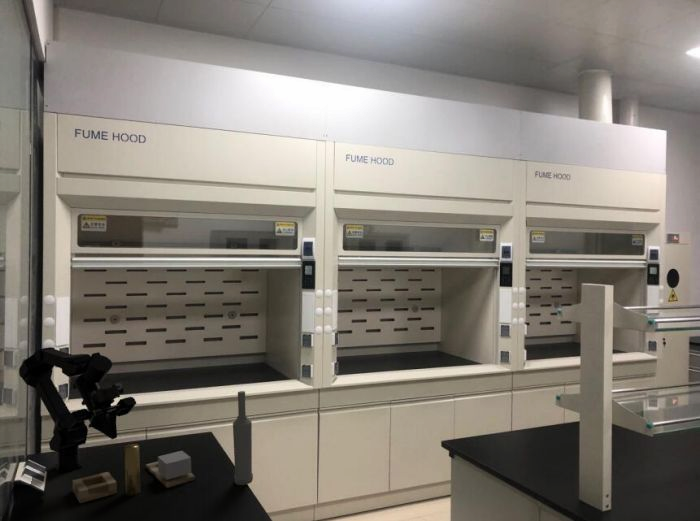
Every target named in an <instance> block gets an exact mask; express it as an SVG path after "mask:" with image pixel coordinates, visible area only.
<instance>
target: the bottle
mask: <svg viewBox="0 0 700 521" xmlns="http://www.w3.org/2000/svg"><path fill="white" fill-rule="evenodd" d="M237 404H238V405H237V406H238V408H237V412H238V413H237V414H238V415H237V416H236V419H235V420H234V421H233V422H232V437H233V456H234V457H233V459H234V460H233V461H234V476H233V479H234V483H235V484H236V485H238V486H246V485H249V484H251V483H253V480H254V479H253V478H254V474H253V470H252V469H253V467H252V466H253V465H252V464H253V460H252V459H253V456H252V454H253V452H252V450H253V445H252V444H253V443H252V441H253V440H252V439H253V438H252V431H253V430H252V428H253V427H252V426H253V425H252V420H250V419H249V418H248V415H246V414H247V413H246V391H245V390H240V391H237Z"/></svg>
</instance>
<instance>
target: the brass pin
mask: <svg viewBox="0 0 700 521" xmlns="http://www.w3.org/2000/svg"><path fill="white" fill-rule="evenodd" d="M140 459H141V458H140V444H138V443H130V444H127V445H125V446H124V472H125V495H126V496H130V497H131V496H136V495H138V494H140V493H141V471H140V470H141V467H140V466H141V465H140Z"/></svg>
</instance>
